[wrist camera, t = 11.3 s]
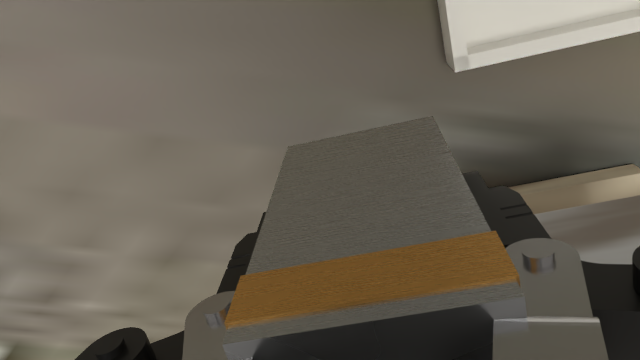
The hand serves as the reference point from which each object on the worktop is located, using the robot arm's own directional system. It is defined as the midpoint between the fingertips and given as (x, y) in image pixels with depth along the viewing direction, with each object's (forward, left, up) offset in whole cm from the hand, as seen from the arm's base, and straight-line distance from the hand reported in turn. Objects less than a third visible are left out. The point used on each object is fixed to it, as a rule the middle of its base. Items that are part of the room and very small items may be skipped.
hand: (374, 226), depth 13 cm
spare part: (0, 0, -2) cm, 2 cm away
